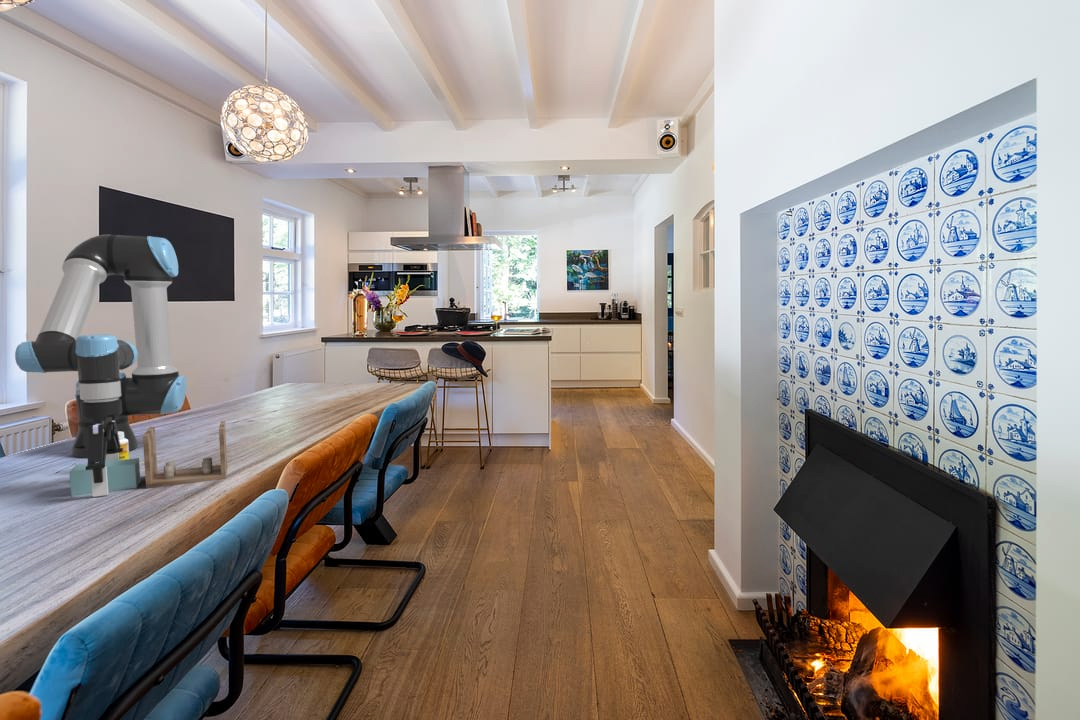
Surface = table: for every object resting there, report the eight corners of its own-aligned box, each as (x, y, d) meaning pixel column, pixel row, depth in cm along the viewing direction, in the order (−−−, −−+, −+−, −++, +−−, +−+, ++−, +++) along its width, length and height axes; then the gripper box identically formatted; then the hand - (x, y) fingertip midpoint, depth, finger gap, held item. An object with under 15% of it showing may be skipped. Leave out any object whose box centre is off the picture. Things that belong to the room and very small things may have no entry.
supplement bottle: (101, 474, 134) (98, 436, 133) (105, 469, 139) (102, 432, 138) (129, 471, 137) (126, 433, 136) (131, 466, 142) (128, 429, 141)
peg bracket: (153, 476, 133) (149, 427, 132) (227, 467, 141) (225, 421, 140) (146, 488, 124) (142, 435, 123) (225, 478, 132) (223, 428, 131)
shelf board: (78, 489, 124) (76, 464, 124) (140, 481, 130) (138, 458, 130) (71, 496, 119) (69, 471, 119) (136, 488, 125) (134, 464, 125)
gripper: (94, 393, 131) (100, 475, 133) (64, 409, 110) (71, 506, 112) (131, 391, 135) (136, 470, 137) (109, 406, 114) (115, 500, 116)
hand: (107, 487), depth 125 cm, fingers open, 12 cm apart
